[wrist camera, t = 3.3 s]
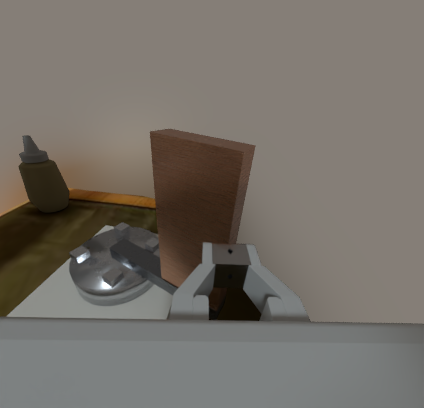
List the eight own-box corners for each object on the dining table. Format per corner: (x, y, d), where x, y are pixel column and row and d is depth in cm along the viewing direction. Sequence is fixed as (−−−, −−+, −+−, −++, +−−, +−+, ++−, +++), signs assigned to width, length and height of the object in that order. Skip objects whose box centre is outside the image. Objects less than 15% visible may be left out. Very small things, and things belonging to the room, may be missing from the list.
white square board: (13, 326, 25) (4, 315, 24) (107, 233, 42) (105, 224, 41) (156, 359, 23) (154, 350, 22) (193, 248, 40) (194, 239, 39)
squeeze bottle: (25, 213, 46) (-13, 137, 37) (53, 198, 53) (27, 131, 44) (56, 217, 45) (24, 142, 36) (80, 201, 52) (59, 134, 43)
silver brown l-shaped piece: (58, 278, 29) (-29, 108, 17) (127, 233, 39) (104, 107, 27) (188, 385, 20) (199, 176, 8) (235, 290, 30) (271, 136, 18)
